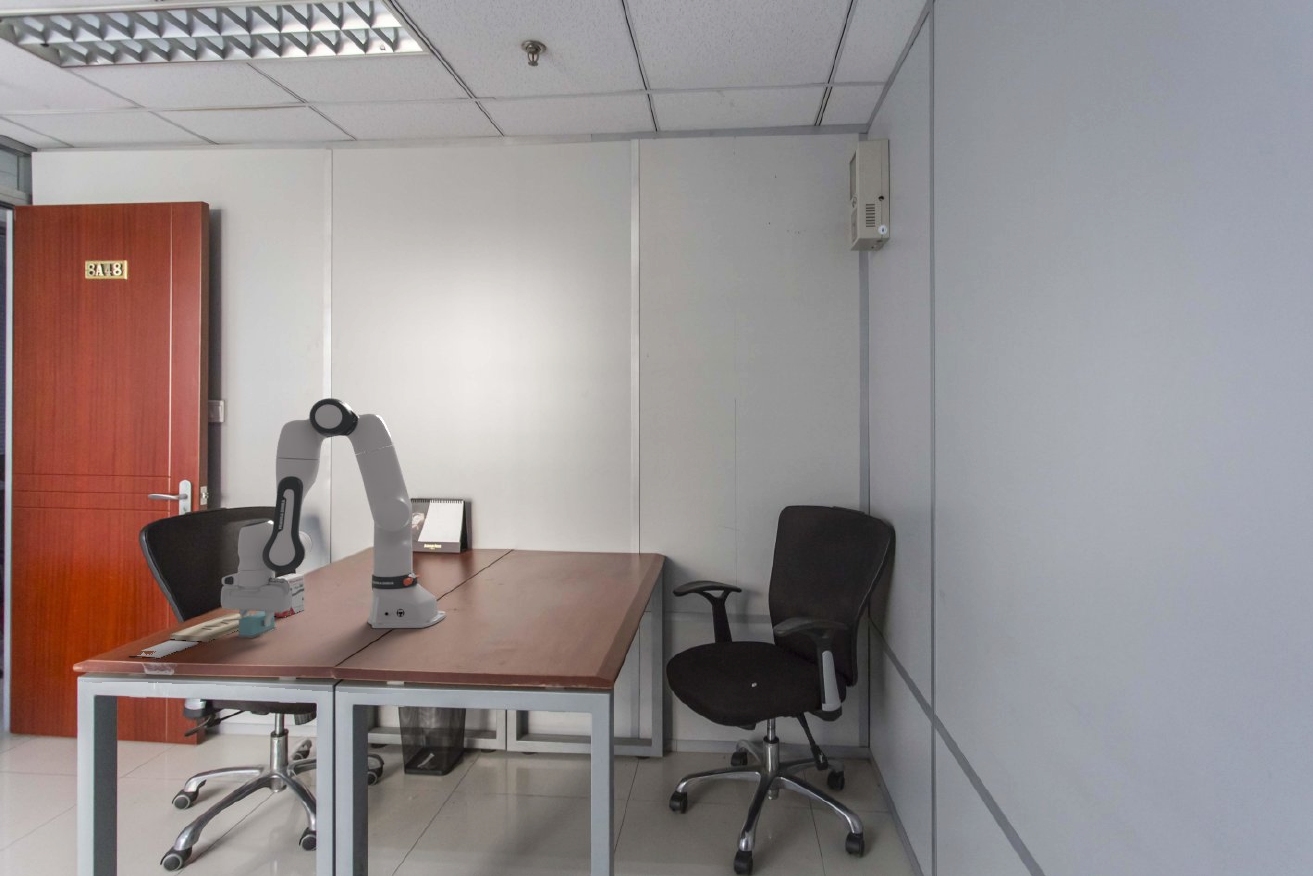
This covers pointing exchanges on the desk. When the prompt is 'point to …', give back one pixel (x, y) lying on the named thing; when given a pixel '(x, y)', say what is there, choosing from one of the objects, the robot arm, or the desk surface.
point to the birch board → (210, 629)
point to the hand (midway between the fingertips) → (256, 625)
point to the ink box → (294, 594)
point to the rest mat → (167, 648)
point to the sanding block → (254, 625)
